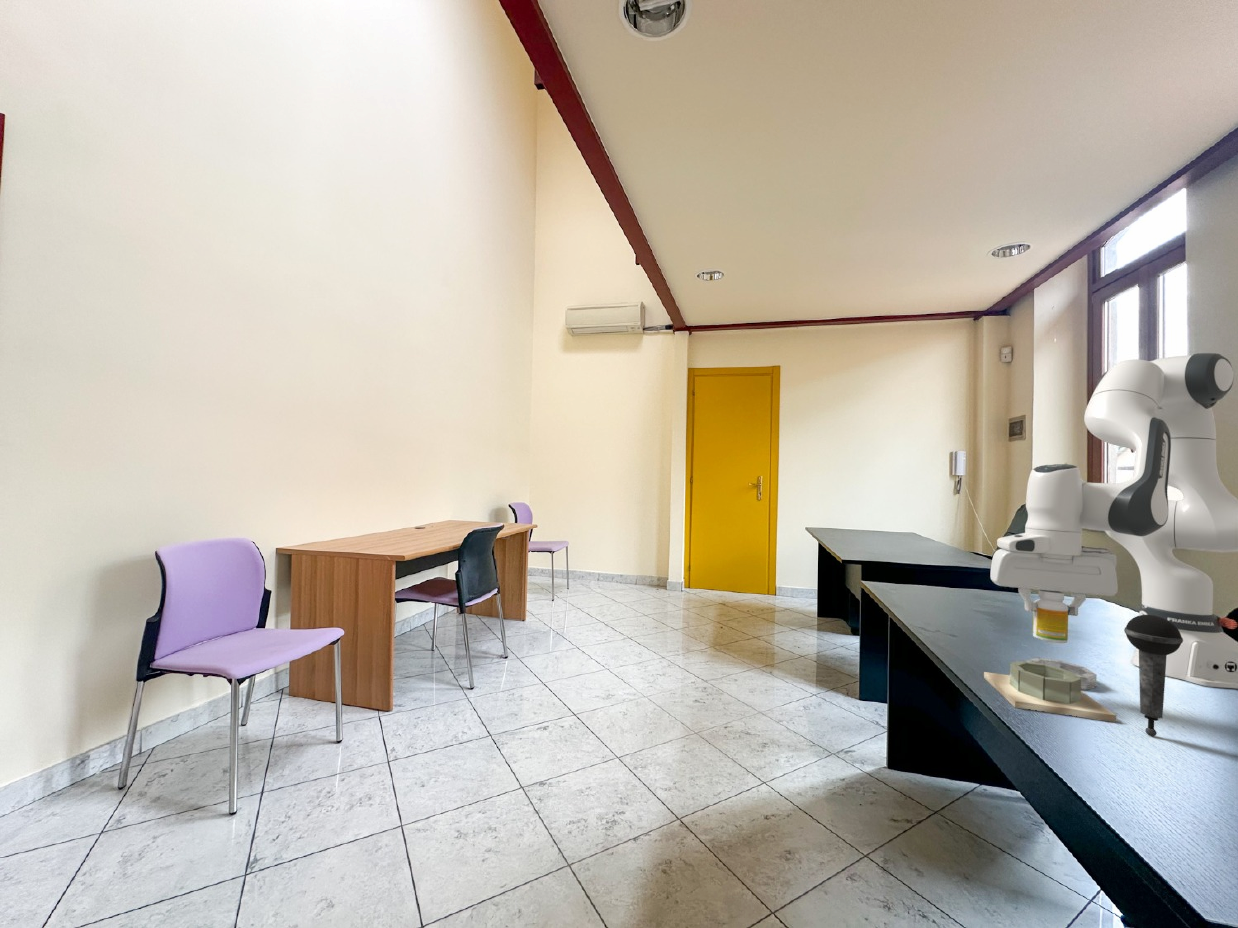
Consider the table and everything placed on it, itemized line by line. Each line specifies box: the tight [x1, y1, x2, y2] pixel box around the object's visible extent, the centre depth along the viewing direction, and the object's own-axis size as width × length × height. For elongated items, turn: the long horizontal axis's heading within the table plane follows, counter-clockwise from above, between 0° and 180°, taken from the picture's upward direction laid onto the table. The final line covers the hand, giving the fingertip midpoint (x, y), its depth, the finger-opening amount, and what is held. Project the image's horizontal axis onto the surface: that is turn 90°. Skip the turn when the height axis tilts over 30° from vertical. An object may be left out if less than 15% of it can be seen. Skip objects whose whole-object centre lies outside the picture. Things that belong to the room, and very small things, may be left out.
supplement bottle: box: [1032, 590, 1069, 644], centre depth 104 cm, size 5×5×10 cm
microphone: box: [1123, 615, 1183, 737], centre depth 86 cm, size 7×7×20 cm
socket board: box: [983, 660, 1117, 723], centre depth 100 cm, size 15×15×5 cm
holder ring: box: [1026, 657, 1097, 691], centre depth 110 cm, size 10×10×2 cm
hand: (1050, 612), depth 104 cm, fingers closed on supplement bottle, 5 cm apart
